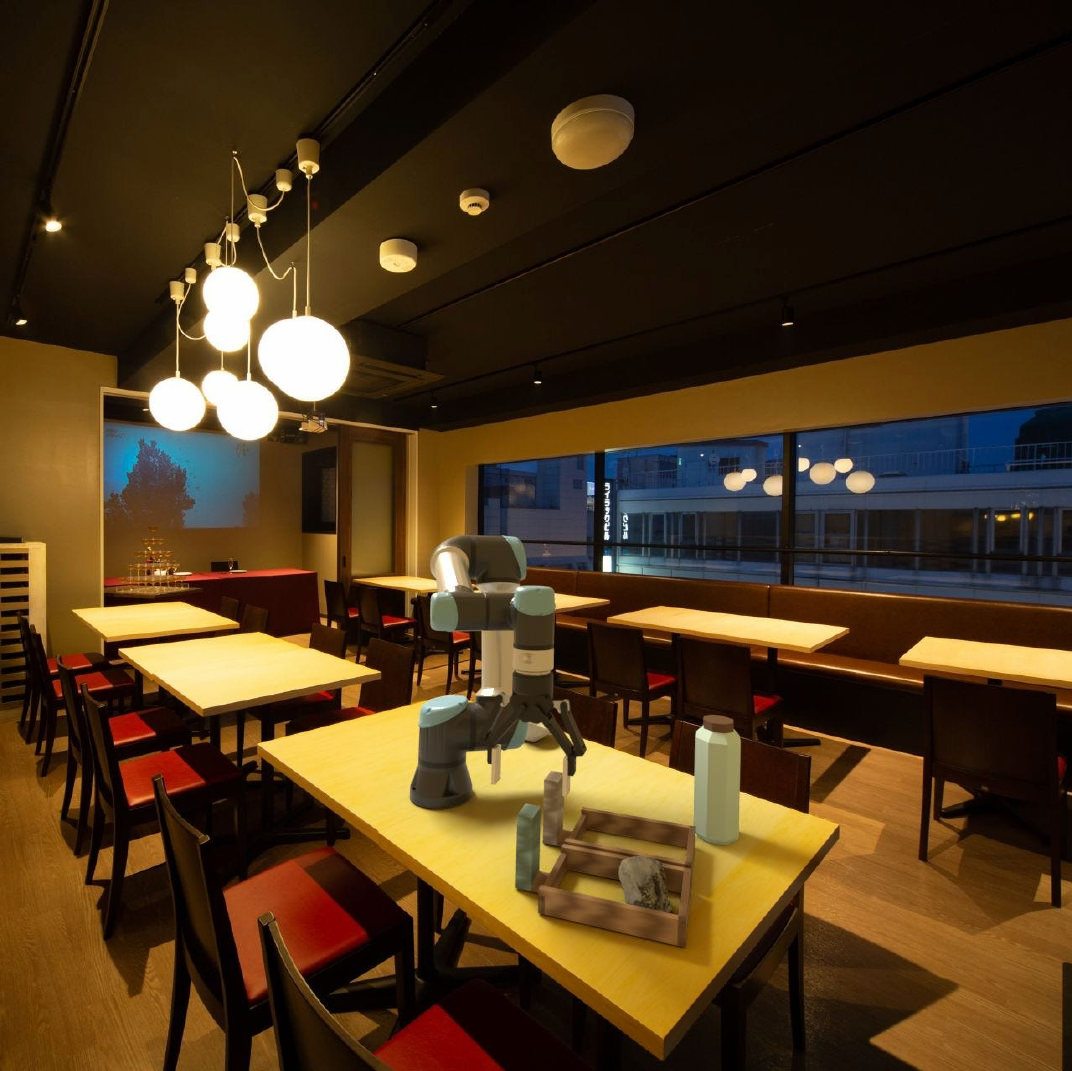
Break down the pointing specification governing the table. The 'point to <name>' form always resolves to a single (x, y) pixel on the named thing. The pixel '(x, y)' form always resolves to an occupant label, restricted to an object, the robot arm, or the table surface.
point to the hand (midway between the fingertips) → (530, 787)
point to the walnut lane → (591, 907)
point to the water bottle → (717, 781)
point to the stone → (644, 883)
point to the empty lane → (611, 827)
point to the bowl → (536, 732)
